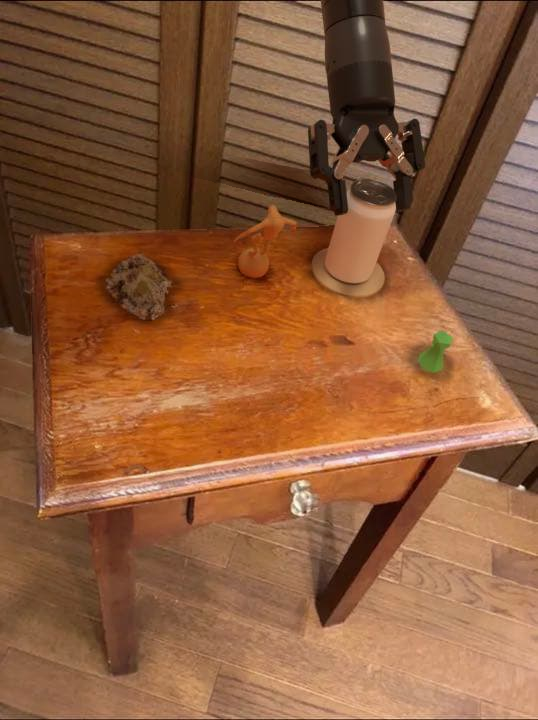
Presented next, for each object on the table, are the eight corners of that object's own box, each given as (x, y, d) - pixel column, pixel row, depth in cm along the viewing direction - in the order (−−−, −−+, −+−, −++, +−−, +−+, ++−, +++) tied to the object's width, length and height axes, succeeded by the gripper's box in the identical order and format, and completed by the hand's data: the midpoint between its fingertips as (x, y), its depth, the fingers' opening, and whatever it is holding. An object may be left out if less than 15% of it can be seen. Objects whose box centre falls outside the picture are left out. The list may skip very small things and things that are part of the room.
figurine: (272, 260, 79) (289, 182, 71) (293, 289, 76) (313, 211, 67) (216, 271, 76) (226, 191, 67) (235, 302, 73) (248, 222, 64)
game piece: (413, 381, 69) (432, 346, 65) (406, 353, 72) (423, 319, 67) (447, 383, 70) (468, 349, 65) (439, 356, 72) (459, 322, 68)
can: (344, 247, 81) (369, 170, 73) (380, 273, 79) (410, 197, 70) (313, 264, 78) (336, 185, 69) (350, 292, 75) (378, 214, 66)
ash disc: (307, 296, 76) (310, 287, 75) (310, 249, 82) (312, 240, 81) (383, 310, 76) (386, 301, 75) (379, 262, 83) (383, 253, 82)
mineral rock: (93, 256, 71) (157, 237, 71) (105, 281, 74) (166, 262, 75) (109, 322, 65) (179, 299, 66) (121, 345, 68) (187, 323, 69)
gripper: (318, 55, 62) (334, 210, 64) (429, 58, 67) (442, 202, 69) (290, 82, 69) (306, 221, 71) (393, 83, 74) (405, 213, 76)
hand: (373, 212), depth 70 cm, fingers open, 8 cm apart
